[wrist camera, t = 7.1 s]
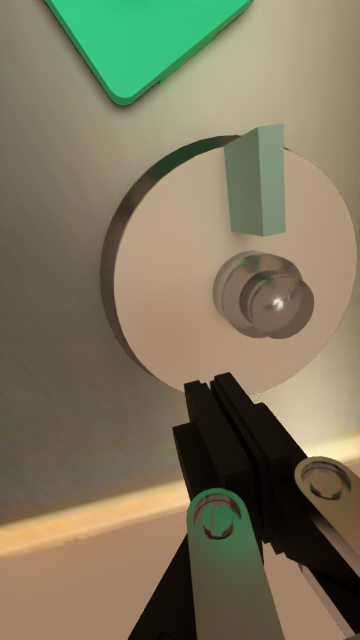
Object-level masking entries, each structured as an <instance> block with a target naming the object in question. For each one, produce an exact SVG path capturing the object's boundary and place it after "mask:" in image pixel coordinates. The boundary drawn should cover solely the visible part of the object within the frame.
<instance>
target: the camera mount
mask: <svg viewBox="0 0 360 640" xmlns="http://www.w3.org/2000/svg"><path fill="white" fill-rule="evenodd" d="M45 1H46V3H47V4H48V6H49V7H50V9H51V10H52V12H53V13H54V15H55V16H56V18H57V19H58V21H59V22H60V24H61V25H62V27H63V28H64V30H65V31H66V33H67V34H68V36H69V37H70V39H71V40H72V42H73V43H74V45H75V46H76V48H77V49H78V51H79V52H80V54H81V55H82V57H83V58H84V60H85V61H86V63H87V64H88V66H89V67H90V69H91V70H92V72H93V73H94V75H95V76H96V78H97V79H98V81H99V82H100V84H101V85H102V87H103V88H104V90H105V91H106V93H107V94H108V96H109V97H110V99H111V100H112V101H114V102H115V103H117V104H119V105H129V104H131V103H132V102H134V101H135V100H136V99H137V98H138V97H140V96H141V95H142V94H143V93H145V92H146V91H147V90H148V89H149V88H151V87H152V86H153V85H154V84H155V83H157V82H159V83H161V82H162V81H163V80H165V79H166V78H167V77H168V76H169V75H171V74H172V73H173V72H174V71H176V70H177V69H178V68H179V67H180V66H182V65H183V64H184V63H185V62H187V61H188V60H189V59H190V58H191V57H193V56H194V55H195V54H196V53H197V52H199V51H200V50H201V49H202V48H204V47H205V46H206V45H207V44H208V43H210V42H211V41H212V40H213V39H214V37H215V35H216V34H217V33H218V32H219V31H220V30H221V29H223V28H224V27H225V26H226V25H228V24H229V23H230V22H231V21H232V20H234V19H235V18H236V17H237V16H239V15H240V14H241V13H242V12H243V11H245V10H246V9H247V8H248V7H249V6H250V5H251V4H252V2H253V1H254V0H45Z"/></svg>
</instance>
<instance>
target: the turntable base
mask: <svg viewBox="0 0 360 640" xmlns="http://www.w3.org/2000/svg"><path fill="white" fill-rule="evenodd" d="M239 137H241V136H239V135H233V136H217V137H213V138H208V139H204V140H199V141H197V142H194V143H192V144H189V145H186V146H184V147H181V148H180V149H178V150H176V151H174V152H172V153H171V154H169V155H167V156H165V157H164V158H163V159H161V160H160V161H159V162H157V163H156V164H155V165H153V166H152V167H151V168H150V169H148V170H147V171H146V172H145V173H144V174H143V175H142V176H141V178H140V179H139V180H138V181H137V182H136V183H135V184H134V185H133V186H132V187H131V189H130V190H129V192H128V193H127V194H126V196H125V197H124V198H123V200H122V201H121V203H120V205H119V207H118V209H117V211H116V212H115V214H114V216H113V218H112V221H111V224H110V226H109V229H108V232H107V234H106V238H105V242H104V247H103V251H102V259H101V270H100V279H101V294H102V299H103V304H104V309H105V312H106V315H107V318H108V321H109V324H110V326H111V328H112V330H113V332H114V334H115V336H116V338H117V340H118V341H119V343H120V344H121V346H122V347H123V349H124V350H125V351H126V353H127V354H128V355H129V356H130V357H131V358H132V359H133V360H134V361H135V362H136V363H137V364H138V365H139V366H140V367H142V368H143V369H144V370H145V371H146V372H148V373H149V374H151V375H153V374H152V373H151V372H150V371H149V370H148V369H147V368H146V367H145V366H144V365H143V364H142V363H141V362H140V361H139V359H138V358H137V357H136V355H135V354H134V352H133V351H132V349H131V348H130V346H129V344H128V342H127V340H126V338H125V336H124V334H123V331H122V328H121V325H120V322H119V319H118V315H117V309H116V304H115V296H114V265H115V257H116V253H117V249H118V244H119V241H120V238H121V235H122V233H123V230H124V228H125V225H126V223H127V221H128V219H129V218H130V216H131V214H132V212H133V210H134V209H135V207H136V206H137V205H138V203H139V202H140V200H141V199H142V198H143V196H144V195H145V194H146V193H147V192H148V191H149V190H150V189H151V188H152V187H153V186H154V185H155V184H156V183H157V182H158V181H159V180H160V179H161V178H162V177H164V176H165V175H166V174H168V173H169V172H170V171H172V170H173V169H175V168H176V167H178V166H180V165H181V164H183V163H185V162H187V161H188V160H190V159H192V158H194V157H195V156H197V155H200V154H202V153H205V152H208V151H210V150H213V149H215V148H220V147H224V145H226V144H228V143H230V142H232V141H233V140H235V139H237V138H239ZM284 149H286V150H288V149H287V148H284ZM288 151H290V150H288ZM153 376H154V377H156V376H155V375H153ZM156 378H157V377H156ZM157 379H158V378H157Z"/></svg>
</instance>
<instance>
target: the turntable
mask: <svg viewBox="0 0 360 640" xmlns="http://www.w3.org/2000/svg"><path fill="white" fill-rule="evenodd" d="M250 250H256V251H261V252H265V253H269V254H273V255H276V256H280V257H283V258H285V259H287V260H289V261H291V262H292V263H293V264H294V265H295V266H296V267H297V268H298V270H299V271H300V273H301V276H302V278H303V282H305V283H306V284H307V285H308V286H309V287H310V289H311V290H312V293H313V296H314V310H313V313H312V316H311V318H310V320H309V322H308V323H307V325H306V326H305V327H304V328H303V329H302V330H301V331H300V332H298V333H297V334H295V335H294V336H292V337H289V338H286V339H273V338H270V337H265V338H252V337H248V336H245V335H243V334H241V333H240V332H238V331H237V330H236V329H235V328H234V327H233V326H232V325H230V324H229V323H228V322H227V321H226V320H225V319H224V318H223V317H222V316H221V315H220V314H219V312H218V311H217V309H216V307H215V305H214V302H213V295H212V291H213V284H214V280H215V277H216V275H217V273H218V271H219V270H220V268H221V267H222V266H223V264H224V263H225V262H226V261H227V260H229V259H230V258H231V257H233V256H234V255H236V254H238V253H241V252H244V251H250ZM356 266H357V246H356V238H355V231H354V227H353V223H352V219H351V216H350V214H349V211H348V209H347V206H346V204H345V202H344V200H343V198H342V197H341V195H340V193H339V191H338V190H337V188H336V187H335V186H334V184H333V183H332V182H331V181H330V179H329V178H328V177H327V176H326V175H325V174H324V173H323V172H322V171H321V170H320V169H319V168H317V167H316V166H315V165H314V164H312V163H311V162H309V161H308V160H306V159H305V158H303V157H302V156H300V155H297V154H295V153H293V152H291V151H288V150H286V149H284V146H283V124H278V125H270V126H263V127H257V128H255V129H254V130H252V131H250V132H248V133H246V134H244V135H243V136H241V137H239V138H237V139H235V140H233V141H232V142H230V143H228V144H226V145H224V147H220V148H215V149H213V150H210V151H208V152H205V153H202V154H200V155H197V156H195V157H194V158H192V159H190V160H188V161H187V162H185V163H183V164H181V165H180V166H178V167H176V168H175V169H173V170H172V171H170V172H169V173H168V174H166V175H165V176H164V177H162V178H161V179H160V180H159V181H158V182H157V183H156V184H155V185H154V186H153V187H152V188H151V189H150V190H149V191H148V192H147V193H146V194H145V195H144V196H143V198H142V199H141V200H140V202H139V203H138V205H137V206H136V207H135V209H134V210H133V212H132V214H131V216H130V218H129V219H128V221H127V223H126V225H125V228H124V230H123V233H122V235H121V238H120V241H119V244H118V249H117V253H116V257H115V265H114V296H115V304H116V309H117V315H118V319H119V322H120V325H121V328H122V331H123V334H124V336H125V338H126V340H127V342H128V344H129V346H130V348H131V349H132V351H133V352H134V354H135V355H136V357H137V358H138V359H139V361H140V362H141V363H142V364H143V365H144V366H145V367H146V368H147V369H148V370H149V371H150V372H151V373H152V374H153V375H155V376H156V377H157V378H158V379H159V380H161V381H163V382H164V383H166V384H168V385H169V386H171V387H173V388H175V389H177V390H180V391H182V392H184V393H185V391H184V383H188V382H192V381H196V380H199V381H200V382H201V383H205V382H206V383H207V385H208V387H209V389H210V381H212V380H214V376H215V375H219V374H223V373H227V372H230V373H231V374H232V375H233V377H234V378H235V379H236V381H237V382H238V383H239V385H240V386H241V387H242V389H243V390H244V391H245V393H246V394H247V395H248V396H249V395H253V394H256V393H259V392H262V391H265V390H268V389H270V388H272V387H274V386H276V385H278V384H280V383H282V382H284V381H285V380H287V379H289V378H290V377H292V376H293V375H295V374H296V373H297V372H299V371H300V370H301V369H303V368H304V367H305V366H306V365H307V364H308V363H309V362H310V361H312V360H313V359H314V358H315V357H316V355H317V354H318V353H319V352H320V351H321V350H322V349H323V348H324V346H325V345H326V344H327V342H328V341H329V340H330V338H331V337H332V336H333V334H334V332H335V330H336V329H337V327H338V325H339V324H340V322H341V320H342V318H343V315H344V313H345V311H346V309H347V306H348V303H349V300H350V297H351V294H352V290H353V286H354V281H355V275H356Z"/></svg>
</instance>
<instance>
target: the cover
mask: <svg viewBox="0 0 360 640" xmlns="http://www.w3.org/2000/svg"><path fill="white" fill-rule="evenodd" d="M212 295H213V302H214V305H215V307H216V309H217V311H218V312H219V314H220V315H221V316H222V317H223V318H224V319H225V320H226V321H227V322H228V323H229V324H230V325H232V326H233V327H234V328H235V329H236V330H237V331H238V332H240V333H241V334H243V335H245V336H248V337H252V338H265V337H270V338H273V339H286V338H289V337H292V336H294V335H295V334H297V333H298V332H300V331H301V330H302V329H303V328H304V327H305V326H306V325H307V323H308V322H309V320H310V318H311V316H312V313H313V310H314V296H313V293H312V290H311V289H310V287H309V286H308V285H307V284H306V283H305V282H303V278H302V276H301V273H300V271H299V270H298V268H297V267H296V266H295V265H294V264H293V263H292V262H291V261H289V260H287V259H285V258H283V257H280V256H276V255H273V254H269V253H265V252H261V251H256V250H250V251H244V252H241V253H238V254H236V255H234V256H233V257H231V258H230V259H229V260H227V261H226V262H225V263H224V264H223V266H222V267H221V268H220V270H219V271H218V273H217V275H216V277H215V280H214V284H213V291H212Z"/></svg>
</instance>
